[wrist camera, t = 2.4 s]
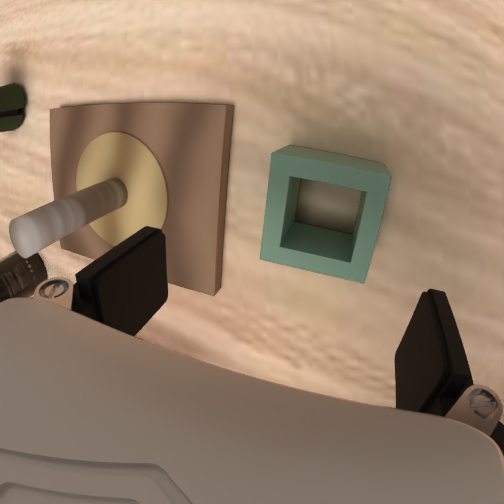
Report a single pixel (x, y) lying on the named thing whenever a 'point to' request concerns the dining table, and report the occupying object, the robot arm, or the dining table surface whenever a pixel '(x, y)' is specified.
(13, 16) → the dining table surface
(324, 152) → the collar
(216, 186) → the post board
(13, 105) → the character mug
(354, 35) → the dining table surface
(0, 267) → the supplement bottle
